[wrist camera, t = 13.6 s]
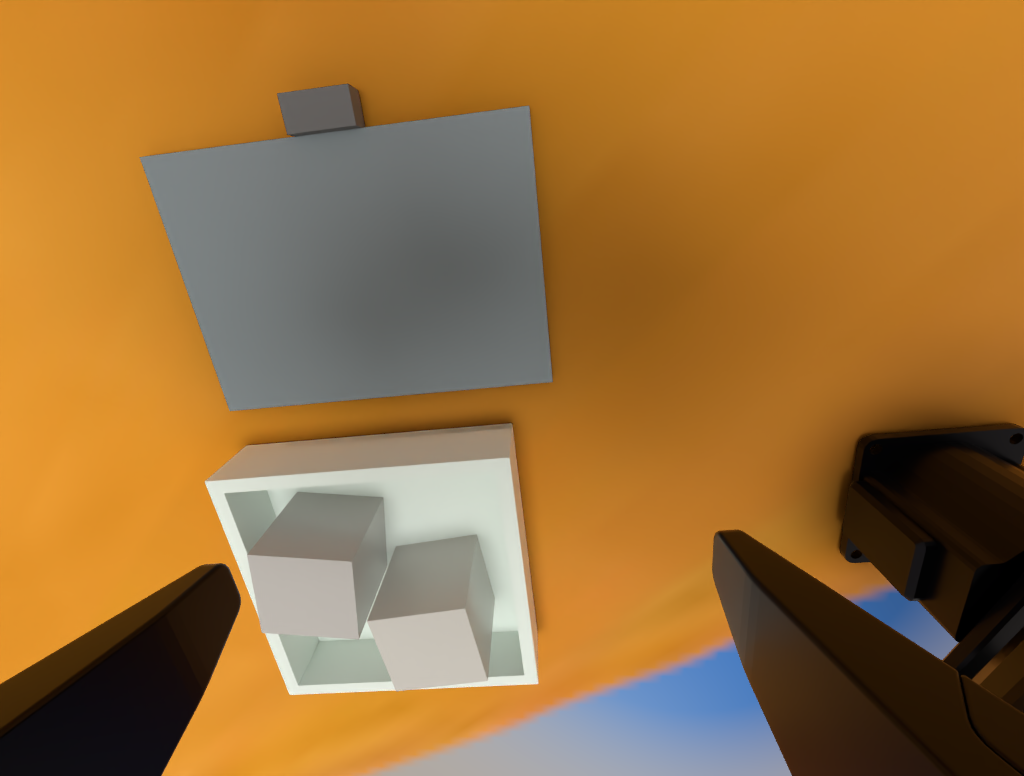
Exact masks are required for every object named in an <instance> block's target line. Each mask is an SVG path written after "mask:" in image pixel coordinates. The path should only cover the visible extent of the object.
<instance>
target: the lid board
mask: <svg viewBox="0 0 1024 776" xmlns="http://www.w3.org/2000/svg"><path fill="white" fill-rule="evenodd" d="M277 95H278V99H279V103H280V107H281V111H282V115H283V119H284V123H285V127H286V131H287V135H291V136H295V137H289V138H281V139H273V140H266V141H258V142H251V143H243V144H236V145H228V146H221V147H213V148H206V149H198V150H190V151H183V152H175V153H168V154H160V155H153V156H145V157H140V159H141V162H142V165H143V168H144V171H145V173H146V176H147V179H148V182H149V185H150V187H151V190H152V193H153V196H154V199H155V202H156V204H157V207H158V210H159V213H160V216H161V218H162V221H163V224H164V227H165V230H166V233H167V235H168V238H169V241H170V244H171V247H172V250H173V252H174V255H175V258H176V261H177V264H178V266H179V269H180V272H181V275H182V278H183V281H184V283H185V286H186V289H187V292H188V295H189V297H190V300H191V303H192V306H193V309H194V312H195V314H196V317H197V320H198V323H199V326H200V328H201V331H202V334H203V337H204V340H205V343H206V345H207V348H208V351H209V354H210V357H211V359H212V362H213V365H214V368H215V371H216V374H217V376H218V379H219V382H220V385H221V388H222V390H223V393H224V396H225V399H226V402H227V405H228V407H229V410H230V411H236V410H247V409H258V408H269V407H280V406H291V405H303V404H314V403H325V402H336V401H347V400H358V399H369V398H380V397H391V396H403V395H414V394H425V393H436V392H447V391H458V390H469V389H480V388H492V387H503V386H514V385H525V384H536V383H547V382H553V380H552V368H551V356H550V344H549V333H548V321H547V309H546V297H545V285H544V274H543V262H542V250H541V238H540V226H539V214H538V203H537V191H536V179H535V167H534V155H533V144H532V132H531V120H530V108H529V106H522V107H515V108H507V109H500V110H492V111H485V112H477V113H470V114H462V115H455V116H447V117H439V118H432V119H424V120H417V121H409V122H402V123H394V124H387V125H379V126H372V127H365V123H364V118H363V113H362V108H361V102H360V97H359V92H358V90H357V89H355V88H354V87H352V86H351V85H349V84H342V85H335V86H328V87H321V88H314V89H307V90H299V91H292V92H285V93H278V94H277Z"/></svg>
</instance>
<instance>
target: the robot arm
mask: <svg viewBox="0 0 1024 776" xmlns="http://www.w3.org/2000/svg"><path fill="white" fill-rule="evenodd" d="M1011 436H1012V437H1011ZM873 445H876V446H875V448H873V449H872V450H870V448H871V447H872V446H873ZM1023 456H1024V428H1022V427H1020V426H1018V425H1016V424H1000V425H987V426H975V427H962V428H949V429H936V430H923V431H911V432H898V433H885V434H872V435H868V436H866V437H864V438H862V439H861V440H860V442H859V444H858V447H857V453H856V458H855V464H854V470H853V476H852V482H851V485H850V487H849V492H848V497H847V503H846V509H845V515H844V521H843V527H842V531H843V534H842V540H841V546H840V553H841V554H842V555H843V556H844V558H845V559H846V560H847V561H849V562H851V563H862V562H871V563H872V564H873V565H874V566H875V567H876V568H877V569H878V570H879V571H880V572H881V573H882V574H883V575H884V577H885V578H886V579H887V580H888V581H889V582H890V583H891V584H892V585H893V586H894V587H895V588H896V589H897V590H898V591H899V593H900V594H901V595H902V596H904V597H905V598H906V599H908V600H909V601H918V602H919V603H920V604H921V605H922V606H923V607H924V608H925V609H926V610H927V611H928V612H929V613H930V614H931V615H932V616H933V617H934V618H935V619H936V620H937V621H938V622H939V623H940V624H941V626H942V627H943V628H944V629H945V630H946V631H947V632H948V633H949V634H950V635H951V636H952V637H953V638H954V639H955V640H956V641H957V642H959V643H958V644H957V645H956V646H955V647H954V648H953V649H952V650H951V652H949V654H948V655H947V656H946V657H945V658H944V659H943V660H940V659H939V658H937V657H935V656H934V655H932V654H931V653H929V652H928V651H926V650H925V649H923V648H922V647H920V646H919V645H917V644H915V643H914V642H912V641H911V640H909V639H908V638H906V637H905V636H903V635H902V634H900V633H899V632H897V631H895V630H894V629H892V628H891V627H889V626H888V625H886V624H884V623H883V622H882V621H880V620H879V619H877V618H875V617H874V616H872V615H871V614H869V613H868V612H866V611H865V610H863V609H862V608H860V607H859V606H857V605H855V604H854V603H852V602H851V601H849V600H848V599H846V598H845V597H843V596H842V595H840V594H838V593H837V592H835V591H834V590H832V589H831V588H829V587H828V586H826V585H825V584H823V583H822V582H820V581H818V580H817V579H815V578H814V577H812V576H811V575H809V574H808V573H806V572H805V571H803V570H802V569H800V568H798V567H797V566H795V565H794V564H792V563H791V562H789V561H788V560H786V559H785V558H783V557H782V556H780V555H778V554H777V553H775V552H774V551H772V550H771V549H769V548H768V547H766V546H765V545H763V544H762V543H760V542H758V541H757V540H755V539H754V538H752V537H751V536H749V535H748V534H746V533H745V532H743V531H741V530H724V531H718V532H716V533H715V536H714V545H713V563H712V572H713V578H714V582H715V585H716V588H717V591H718V594H719V597H720V600H721V603H722V606H723V609H724V612H725V615H726V618H727V621H728V624H729V627H730V630H731V633H732V636H733V639H734V642H735V645H736V648H737V651H738V654H739V657H740V660H741V662H742V665H743V668H744V670H745V673H746V675H747V677H748V680H749V682H750V684H751V687H752V689H753V691H754V693H755V695H756V698H757V700H758V702H759V704H760V706H761V709H762V711H763V713H764V715H765V717H766V719H767V722H768V724H769V726H770V728H771V731H772V733H773V735H774V737H775V739H776V742H777V744H778V746H779V748H780V750H781V752H782V754H783V757H784V759H785V761H786V763H787V766H788V768H789V770H790V772H791V774H792V776H1024V466H1022V465H1021V463H1022V459H1023ZM853 551H854V552H853ZM240 605H241V597H240V594H239V591H238V589H237V586H236V584H235V581H234V579H233V577H232V574H231V572H230V569H229V568H228V567H227V566H226V565H225V564H221V563H219V564H205V565H201V566H199V567H197V568H195V569H194V570H192V571H190V572H189V573H187V574H185V575H184V576H182V577H180V578H179V579H177V580H175V581H174V582H172V583H170V584H168V585H167V586H165V587H163V588H162V589H160V590H158V591H157V592H155V593H153V594H152V595H150V596H148V597H147V598H145V599H143V600H141V601H140V602H138V603H136V604H135V605H133V606H131V607H130V608H128V609H126V610H125V611H123V612H121V613H120V614H118V615H116V616H114V617H113V618H111V619H109V620H108V621H106V622H104V623H103V624H101V625H99V626H98V627H96V628H94V629H93V630H91V631H89V632H87V633H86V634H84V635H82V636H81V637H79V638H77V639H76V640H74V641H72V642H71V643H69V644H67V645H66V646H64V647H62V648H60V649H59V650H57V651H55V652H54V653H52V654H50V655H49V656H47V657H45V658H44V659H42V660H40V661H39V662H37V663H35V664H33V665H32V666H30V667H28V668H27V669H25V670H23V671H22V672H20V673H18V674H17V675H15V676H13V677H12V678H10V679H8V680H6V681H5V682H3V683H1V684H0V776H161V775H162V774H163V772H164V770H165V768H166V766H167V764H168V762H169V760H170V758H171V756H172V754H173V753H174V751H175V749H176V747H177V745H178V743H179V741H180V739H181V737H182V735H183V733H184V732H185V730H186V728H187V726H188V724H189V722H190V720H191V718H192V716H193V714H194V712H195V711H196V709H197V707H198V705H199V703H200V701H201V699H202V697H203V695H204V692H205V690H206V688H207V686H208V683H209V681H210V679H211V677H212V674H213V672H214V670H215V667H216V665H217V662H218V660H219V658H220V655H221V653H222V650H223V648H224V646H225V643H226V641H227V638H228V636H229V634H230V631H231V629H232V627H233V624H234V622H235V619H236V617H237V615H238V612H239V609H240Z"/></svg>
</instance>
